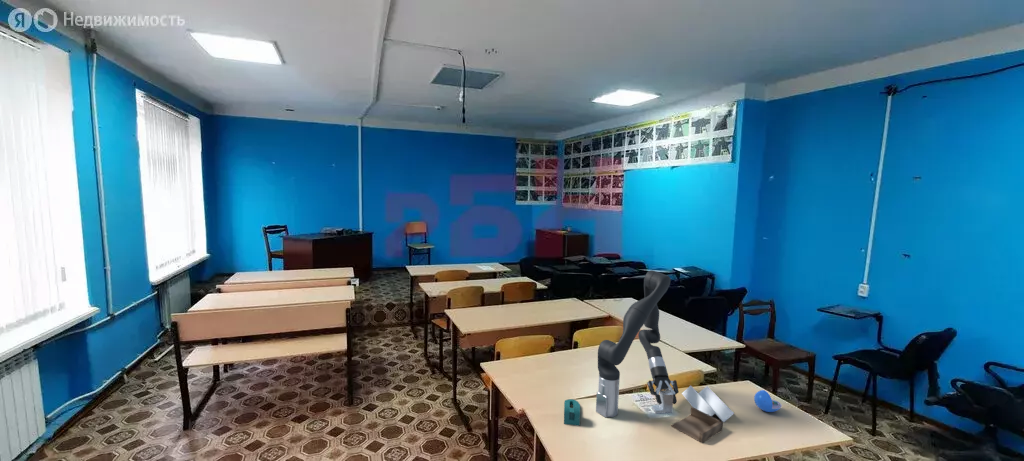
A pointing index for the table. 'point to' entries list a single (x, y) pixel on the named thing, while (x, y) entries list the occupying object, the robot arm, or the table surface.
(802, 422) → the table surface
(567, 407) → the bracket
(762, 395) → the blue rounded hollow shell
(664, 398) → the aluminium bracket
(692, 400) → the z bracket
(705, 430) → the walnut corner tray
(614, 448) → the table surface
